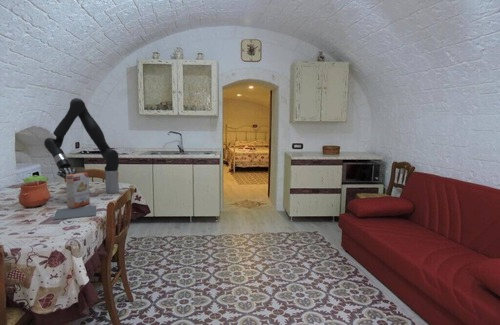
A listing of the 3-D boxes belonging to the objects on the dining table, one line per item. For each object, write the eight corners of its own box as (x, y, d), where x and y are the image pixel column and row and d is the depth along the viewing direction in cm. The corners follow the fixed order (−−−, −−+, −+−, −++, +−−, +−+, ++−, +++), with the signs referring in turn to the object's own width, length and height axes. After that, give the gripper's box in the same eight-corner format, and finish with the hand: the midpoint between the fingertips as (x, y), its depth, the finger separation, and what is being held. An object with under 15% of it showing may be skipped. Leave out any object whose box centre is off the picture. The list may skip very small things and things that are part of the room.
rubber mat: (57, 210, 203) (57, 209, 203) (96, 206, 212) (96, 205, 212) (52, 220, 183) (52, 219, 183) (96, 215, 192) (95, 214, 192)
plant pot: (61, 189, 259) (60, 169, 257) (79, 185, 272) (78, 166, 269) (72, 191, 251) (70, 171, 249) (90, 188, 264) (89, 168, 262)
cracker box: (75, 208, 204) (73, 175, 202) (67, 208, 205) (65, 175, 203) (90, 203, 218) (88, 172, 216) (82, 203, 219) (80, 172, 217)
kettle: (21, 191, 250) (20, 177, 248) (29, 187, 263) (27, 174, 262) (43, 190, 254) (42, 176, 252) (49, 186, 267) (48, 173, 265)
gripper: (53, 159, 212) (63, 180, 207) (73, 157, 223) (84, 177, 218) (50, 166, 216) (60, 187, 211) (70, 164, 227) (80, 184, 222)
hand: (72, 182), depth 214 cm, fingers closed
